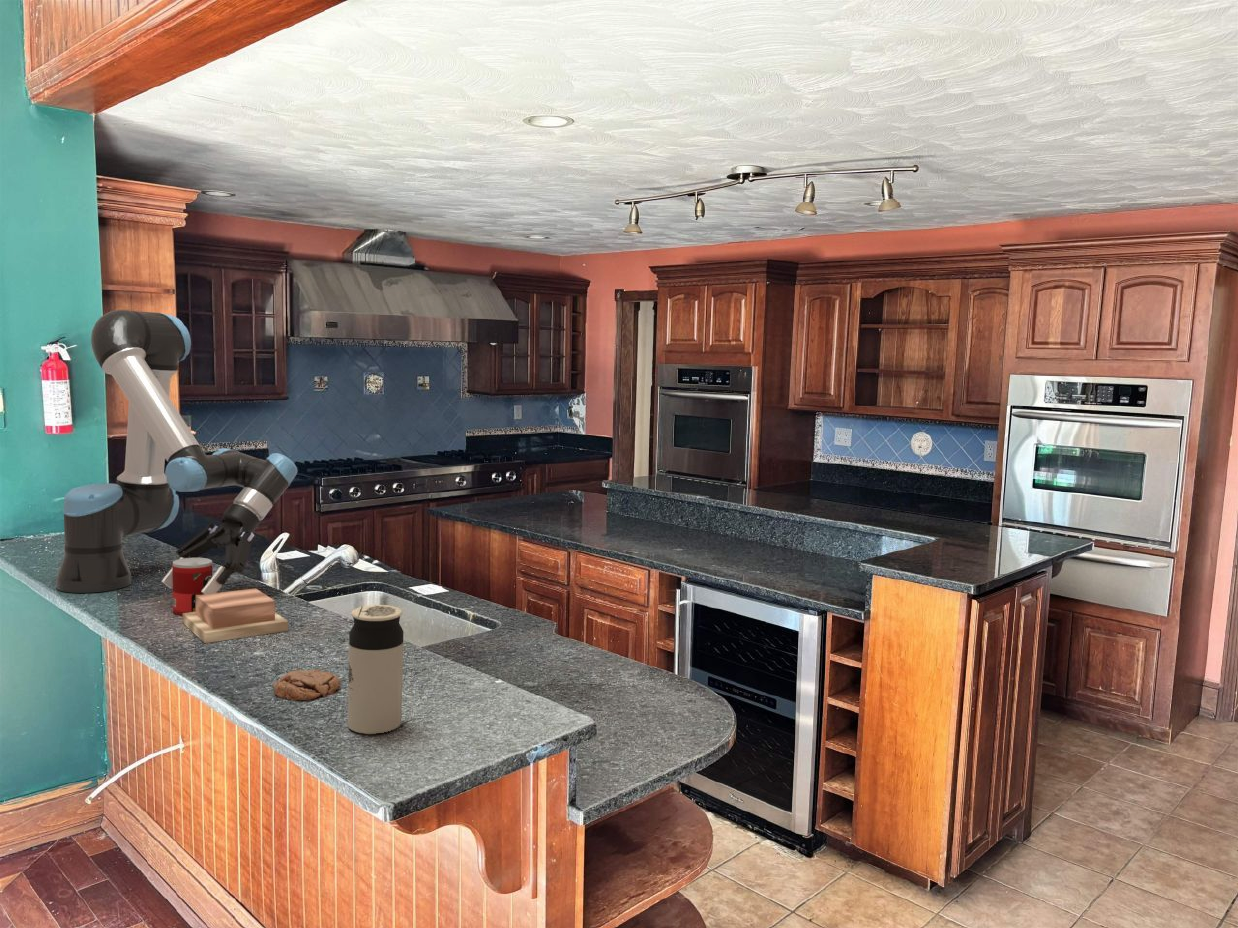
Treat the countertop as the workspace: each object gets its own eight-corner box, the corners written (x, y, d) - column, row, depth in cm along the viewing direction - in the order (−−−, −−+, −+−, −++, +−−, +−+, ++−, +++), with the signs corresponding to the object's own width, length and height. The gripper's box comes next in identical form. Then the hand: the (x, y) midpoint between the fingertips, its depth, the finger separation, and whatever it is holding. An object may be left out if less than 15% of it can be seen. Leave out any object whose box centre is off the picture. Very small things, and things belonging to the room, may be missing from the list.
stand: (182, 622, 184) (182, 594, 183) (261, 612, 194) (262, 585, 194) (204, 643, 172) (204, 612, 171) (288, 630, 182) (288, 602, 181)
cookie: (350, 693, 151) (350, 676, 150) (288, 707, 143) (289, 689, 143) (323, 677, 158) (323, 660, 157) (263, 689, 150) (263, 672, 150)
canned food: (197, 617, 188) (197, 566, 187) (164, 613, 190) (163, 563, 188) (220, 608, 196) (220, 559, 194) (188, 604, 197) (188, 556, 196)
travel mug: (406, 716, 141) (408, 605, 139) (395, 736, 133) (397, 619, 131) (355, 714, 141) (357, 603, 139) (341, 734, 133) (343, 617, 131)
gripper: (293, 529, 198) (235, 609, 187) (221, 516, 211) (162, 590, 199) (274, 508, 193) (212, 589, 182) (200, 496, 205) (138, 571, 194)
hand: (186, 590), depth 190 cm, fingers open, 13 cm apart
